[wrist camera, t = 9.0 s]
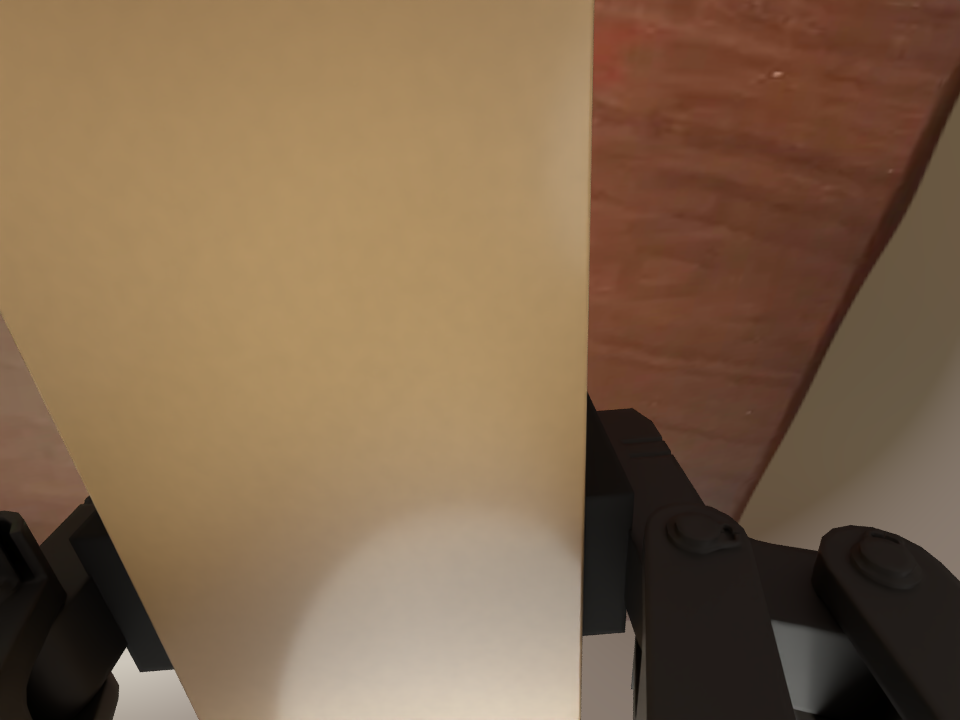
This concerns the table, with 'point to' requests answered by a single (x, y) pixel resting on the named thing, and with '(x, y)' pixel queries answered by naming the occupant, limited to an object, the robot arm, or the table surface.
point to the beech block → (317, 334)
